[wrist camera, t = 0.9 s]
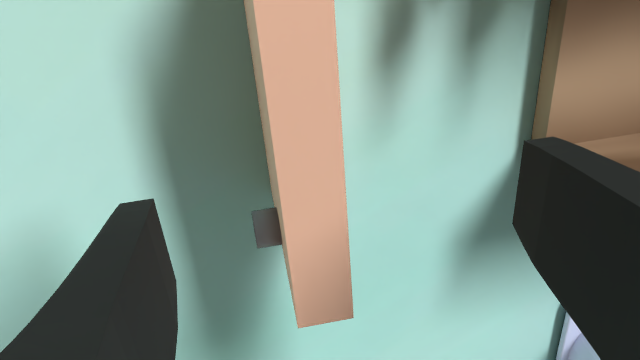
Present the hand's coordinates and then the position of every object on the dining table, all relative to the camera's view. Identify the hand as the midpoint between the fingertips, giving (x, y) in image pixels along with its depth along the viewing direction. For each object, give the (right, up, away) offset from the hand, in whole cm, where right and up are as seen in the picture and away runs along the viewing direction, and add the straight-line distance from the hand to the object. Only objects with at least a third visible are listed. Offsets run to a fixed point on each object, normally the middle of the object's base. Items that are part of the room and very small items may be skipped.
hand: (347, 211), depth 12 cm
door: (-2, +5, +8) cm, 10 cm away
